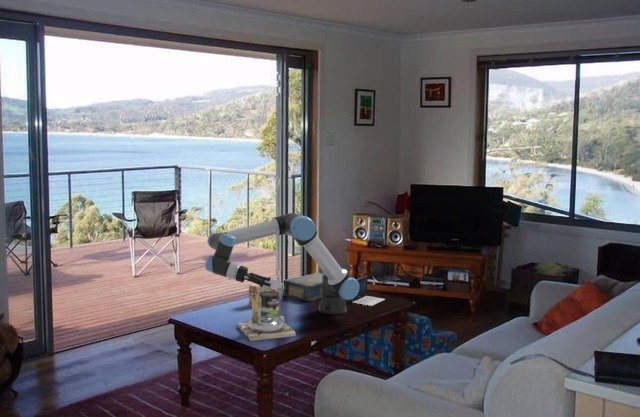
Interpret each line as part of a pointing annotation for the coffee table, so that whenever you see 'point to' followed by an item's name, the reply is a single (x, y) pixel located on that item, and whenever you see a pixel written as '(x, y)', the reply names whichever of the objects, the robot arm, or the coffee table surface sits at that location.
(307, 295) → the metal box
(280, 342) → the coffee table surface
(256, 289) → the stack of blocks
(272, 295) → the coffee can
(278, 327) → the disc stand with rod
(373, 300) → the laptop
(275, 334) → the base board
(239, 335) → the coffee table surface
